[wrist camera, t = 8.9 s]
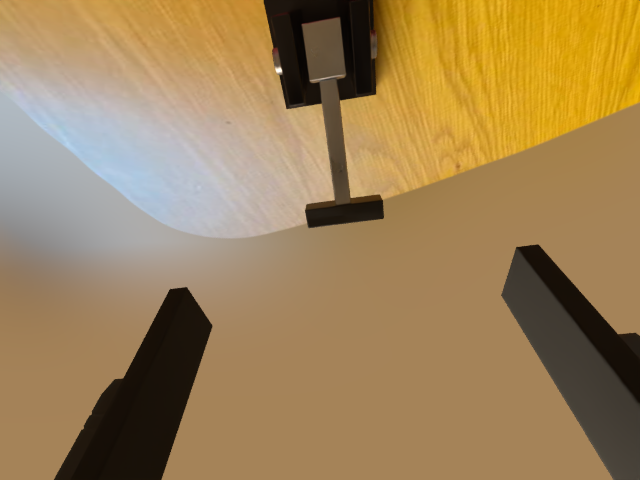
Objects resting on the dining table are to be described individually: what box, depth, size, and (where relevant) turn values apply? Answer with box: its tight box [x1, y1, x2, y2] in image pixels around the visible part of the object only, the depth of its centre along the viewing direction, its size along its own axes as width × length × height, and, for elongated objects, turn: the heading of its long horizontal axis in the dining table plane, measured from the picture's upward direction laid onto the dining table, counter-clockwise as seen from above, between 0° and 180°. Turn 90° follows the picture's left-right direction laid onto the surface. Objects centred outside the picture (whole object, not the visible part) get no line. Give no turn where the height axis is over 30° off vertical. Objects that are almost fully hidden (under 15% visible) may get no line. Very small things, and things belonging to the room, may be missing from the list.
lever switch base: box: [264, 0, 377, 109], centre depth 22 cm, size 11×9×14 cm
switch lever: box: [301, 17, 384, 228], centre depth 20 cm, size 12×6×2 cm, turn 9°
